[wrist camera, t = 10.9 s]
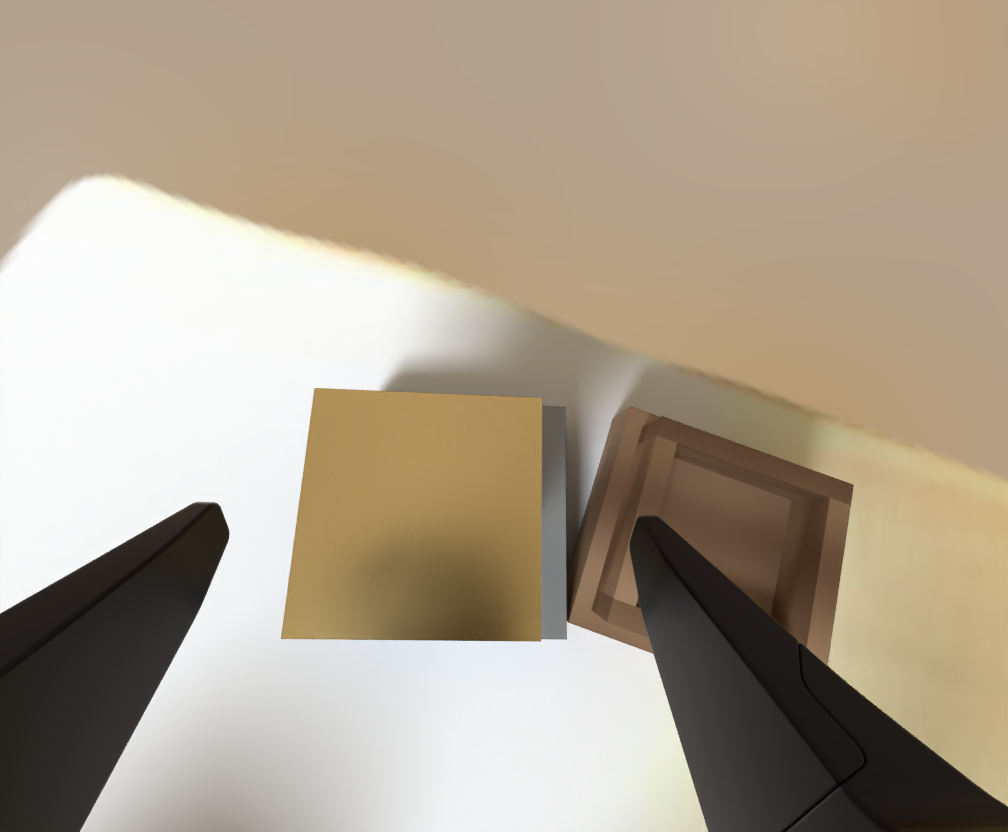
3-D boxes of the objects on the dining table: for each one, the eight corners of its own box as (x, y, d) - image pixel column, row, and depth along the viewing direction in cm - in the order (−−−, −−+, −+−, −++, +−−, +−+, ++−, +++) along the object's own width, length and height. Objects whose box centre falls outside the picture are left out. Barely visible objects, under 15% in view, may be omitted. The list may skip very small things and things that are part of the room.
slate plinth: (554, 623, 18) (566, 639, 16) (342, 620, 18) (321, 636, 16) (554, 420, 21) (565, 407, 18) (364, 412, 20) (348, 397, 18)
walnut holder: (752, 680, 18) (839, 731, 14) (556, 608, 19) (581, 636, 14) (789, 482, 21) (873, 473, 16) (612, 419, 21) (649, 393, 16)
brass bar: (501, 568, 16) (540, 641, 7) (396, 566, 16) (281, 638, 7) (504, 464, 17) (541, 398, 8) (405, 461, 17) (314, 387, 7)
